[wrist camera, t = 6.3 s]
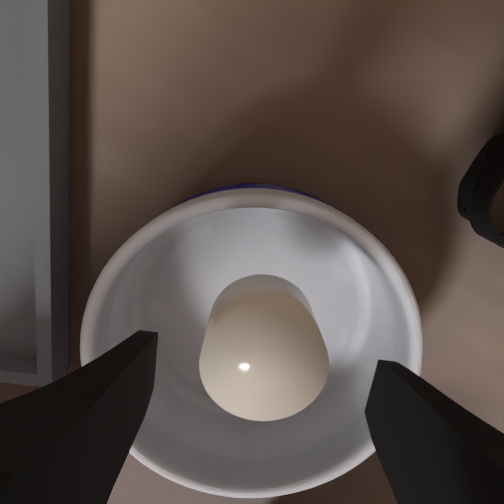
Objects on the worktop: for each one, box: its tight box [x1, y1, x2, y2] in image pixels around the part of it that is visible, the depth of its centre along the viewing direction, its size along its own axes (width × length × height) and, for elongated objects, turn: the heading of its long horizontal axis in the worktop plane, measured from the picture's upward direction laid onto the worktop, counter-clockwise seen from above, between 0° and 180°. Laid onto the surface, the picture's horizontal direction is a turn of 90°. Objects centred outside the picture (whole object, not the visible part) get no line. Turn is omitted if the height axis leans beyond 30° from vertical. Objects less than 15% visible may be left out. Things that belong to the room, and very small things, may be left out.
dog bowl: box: [80, 183, 424, 498], centre depth 19 cm, size 15×15×6 cm
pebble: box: [199, 274, 329, 421], centre depth 14 cm, size 4×4×3 cm
